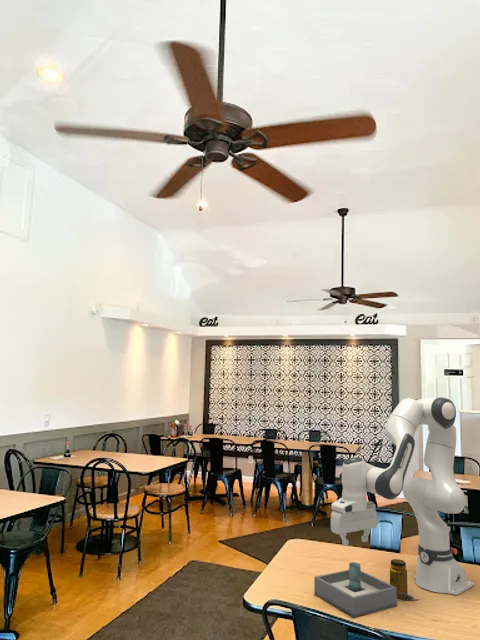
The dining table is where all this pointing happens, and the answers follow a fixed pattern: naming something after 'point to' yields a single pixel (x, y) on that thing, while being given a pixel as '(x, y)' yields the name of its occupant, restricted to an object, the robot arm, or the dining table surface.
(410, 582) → the dining table surface
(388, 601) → the socket box
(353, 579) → the peg
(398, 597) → the condiment
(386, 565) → the dining table surface
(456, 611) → the dining table surface
